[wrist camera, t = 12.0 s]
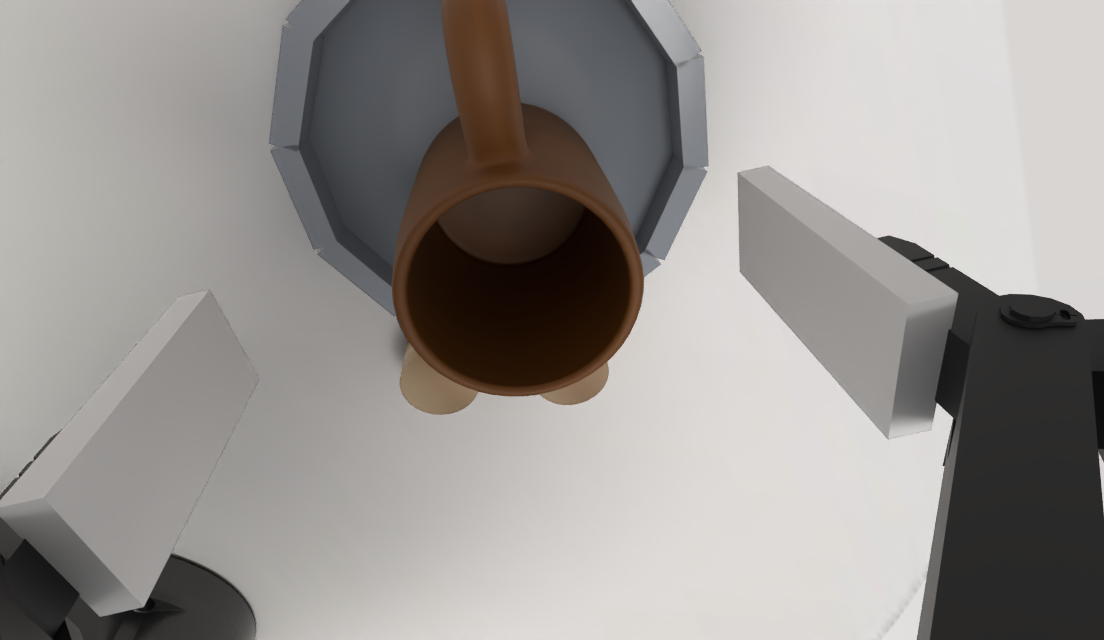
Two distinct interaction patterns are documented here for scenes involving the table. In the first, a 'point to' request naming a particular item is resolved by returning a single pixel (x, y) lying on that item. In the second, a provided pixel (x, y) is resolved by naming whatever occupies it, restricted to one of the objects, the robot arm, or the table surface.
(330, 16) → the saucer
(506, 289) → the mug
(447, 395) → the bead
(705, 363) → the table surface
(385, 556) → the table surface
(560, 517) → the table surface
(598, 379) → the bead
